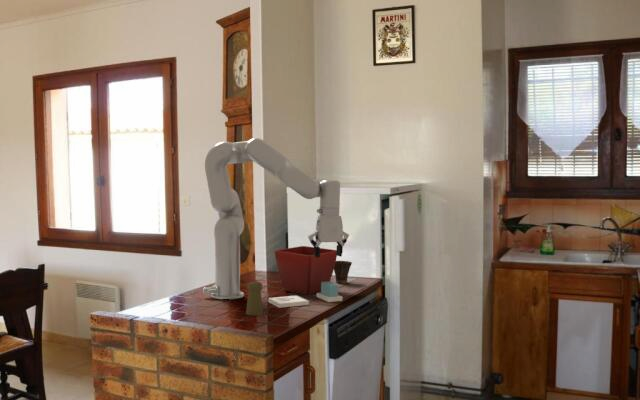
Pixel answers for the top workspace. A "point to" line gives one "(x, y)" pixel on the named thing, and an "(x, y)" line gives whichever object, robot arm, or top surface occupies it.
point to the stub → (329, 292)
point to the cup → (342, 271)
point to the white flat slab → (288, 301)
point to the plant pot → (305, 268)
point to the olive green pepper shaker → (254, 299)
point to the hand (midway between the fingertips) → (328, 256)
